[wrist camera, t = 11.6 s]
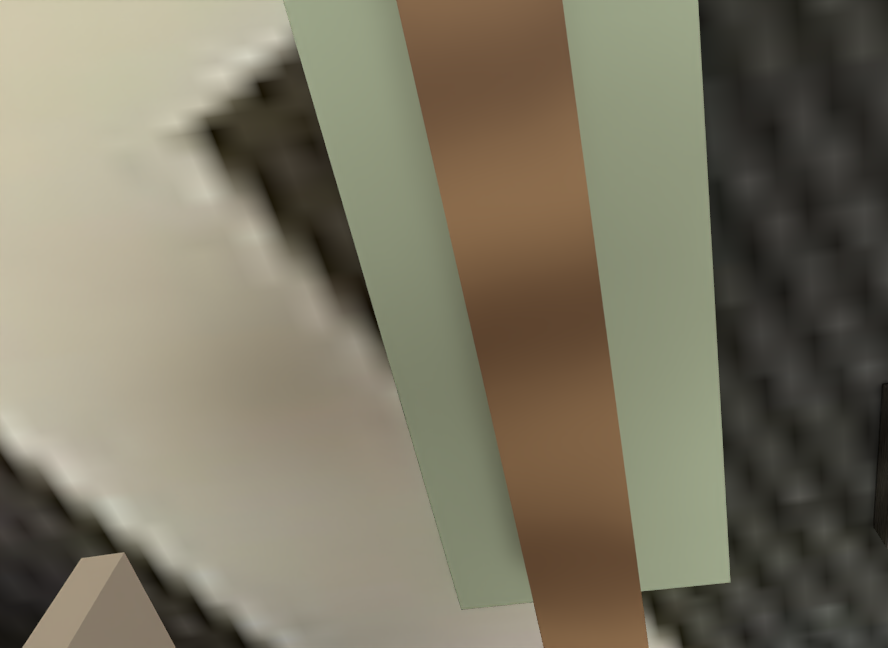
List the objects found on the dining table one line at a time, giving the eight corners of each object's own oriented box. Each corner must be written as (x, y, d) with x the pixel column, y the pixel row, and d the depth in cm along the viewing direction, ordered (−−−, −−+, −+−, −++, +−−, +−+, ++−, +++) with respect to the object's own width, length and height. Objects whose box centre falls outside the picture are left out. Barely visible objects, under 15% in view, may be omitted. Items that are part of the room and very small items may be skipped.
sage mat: (727, 573, 27) (730, 582, 27) (461, 601, 29) (461, 609, 28) (668, -439, 15) (672, -448, 14) (202, -293, 16) (196, -297, 16)
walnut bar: (626, 552, 26) (652, 676, 22) (543, 561, 27) (552, 685, 22) (510, -271, 16) (515, -352, 11) (375, -232, 16) (328, -294, 12)
